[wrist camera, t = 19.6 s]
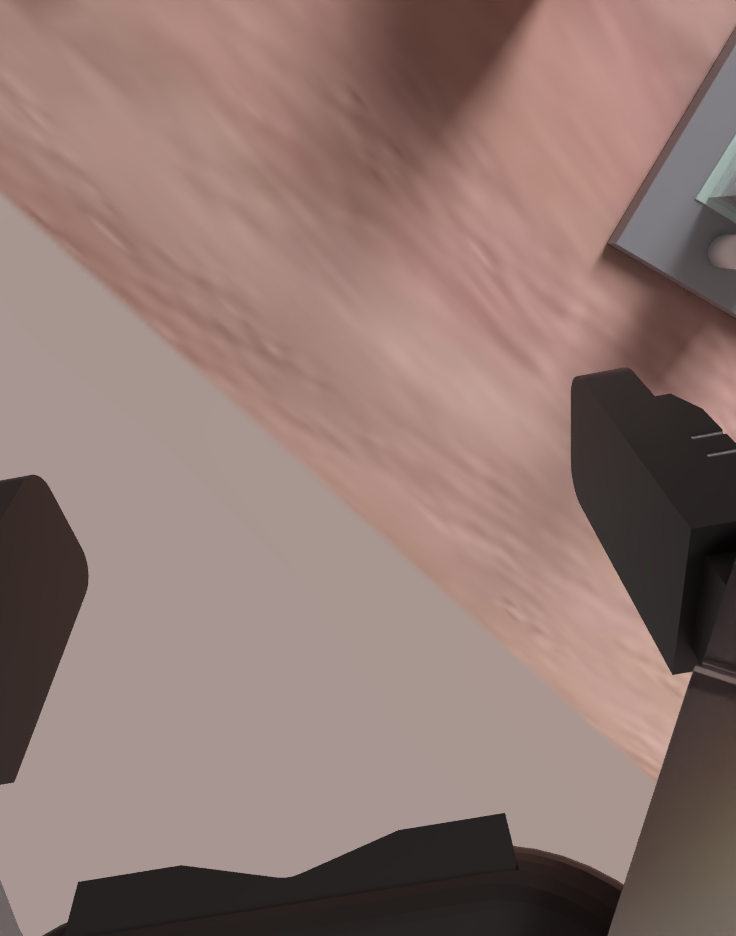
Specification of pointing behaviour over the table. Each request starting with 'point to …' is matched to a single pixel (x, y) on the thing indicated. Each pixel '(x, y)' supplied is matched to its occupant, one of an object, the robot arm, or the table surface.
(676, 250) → the pin tray
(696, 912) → the robot arm
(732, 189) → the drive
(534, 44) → the table surface
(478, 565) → the table surface
